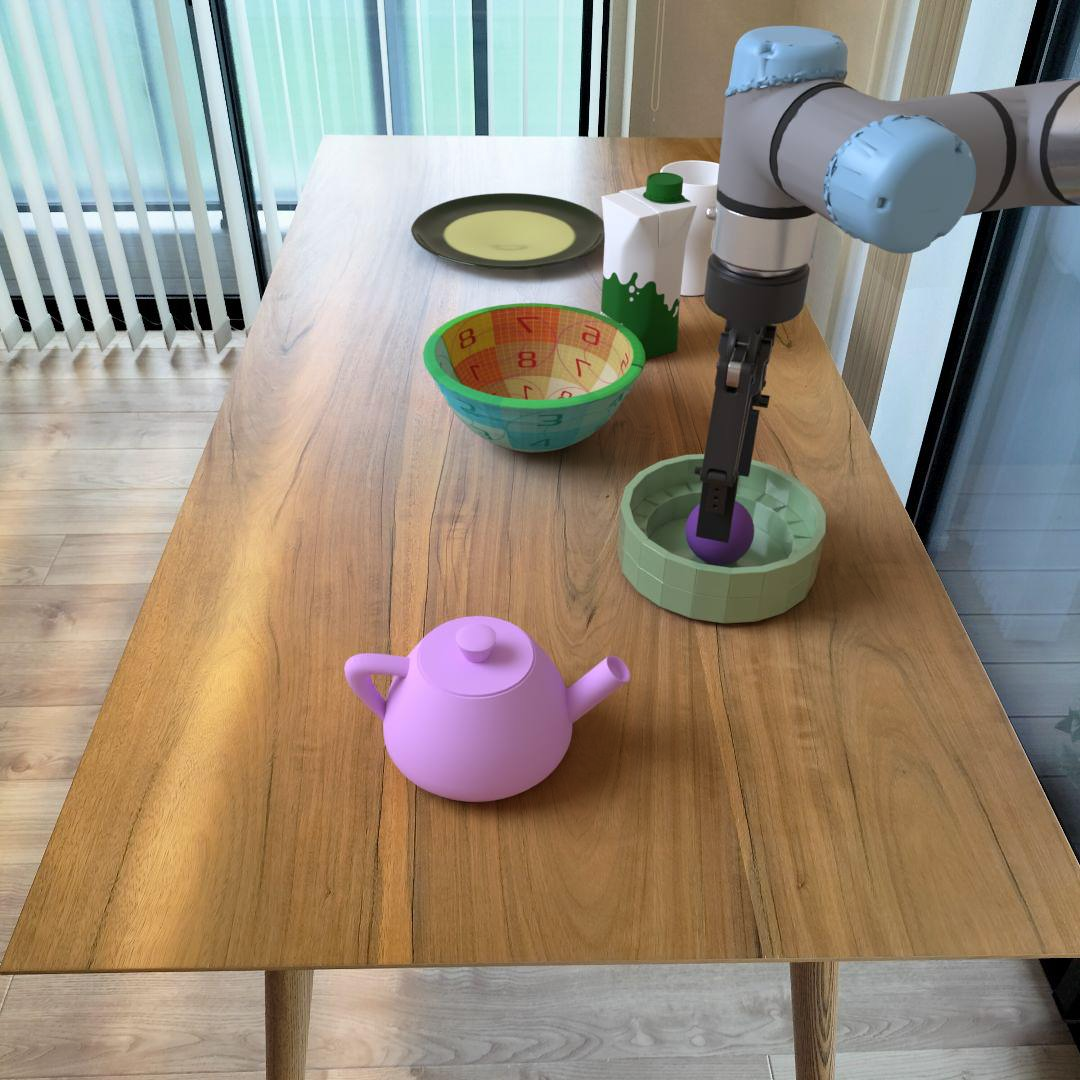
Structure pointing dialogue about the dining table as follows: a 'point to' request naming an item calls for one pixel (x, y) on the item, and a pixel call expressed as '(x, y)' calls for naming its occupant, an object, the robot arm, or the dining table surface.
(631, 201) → the milk carton
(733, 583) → the green bowl
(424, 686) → the teapot
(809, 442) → the dining table surface
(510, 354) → the bowl
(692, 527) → the ball
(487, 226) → the plate
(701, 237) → the cup
